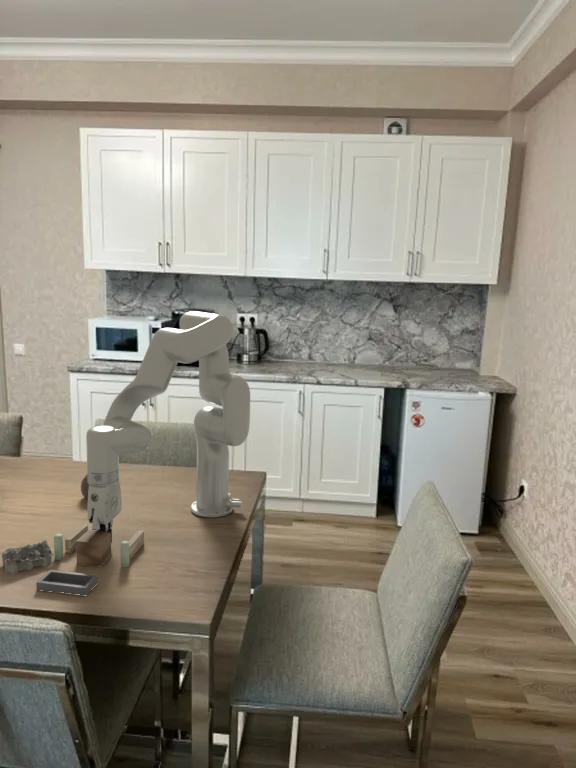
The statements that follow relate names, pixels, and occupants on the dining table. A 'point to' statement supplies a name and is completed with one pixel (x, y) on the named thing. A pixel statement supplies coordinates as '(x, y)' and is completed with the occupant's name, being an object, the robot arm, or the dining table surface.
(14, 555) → the grey jagged open ring
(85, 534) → the walnut block
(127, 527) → the dining table surface
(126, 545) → the goal posts
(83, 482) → the vase
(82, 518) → the dining table surface
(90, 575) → the tray
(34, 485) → the dining table surface
